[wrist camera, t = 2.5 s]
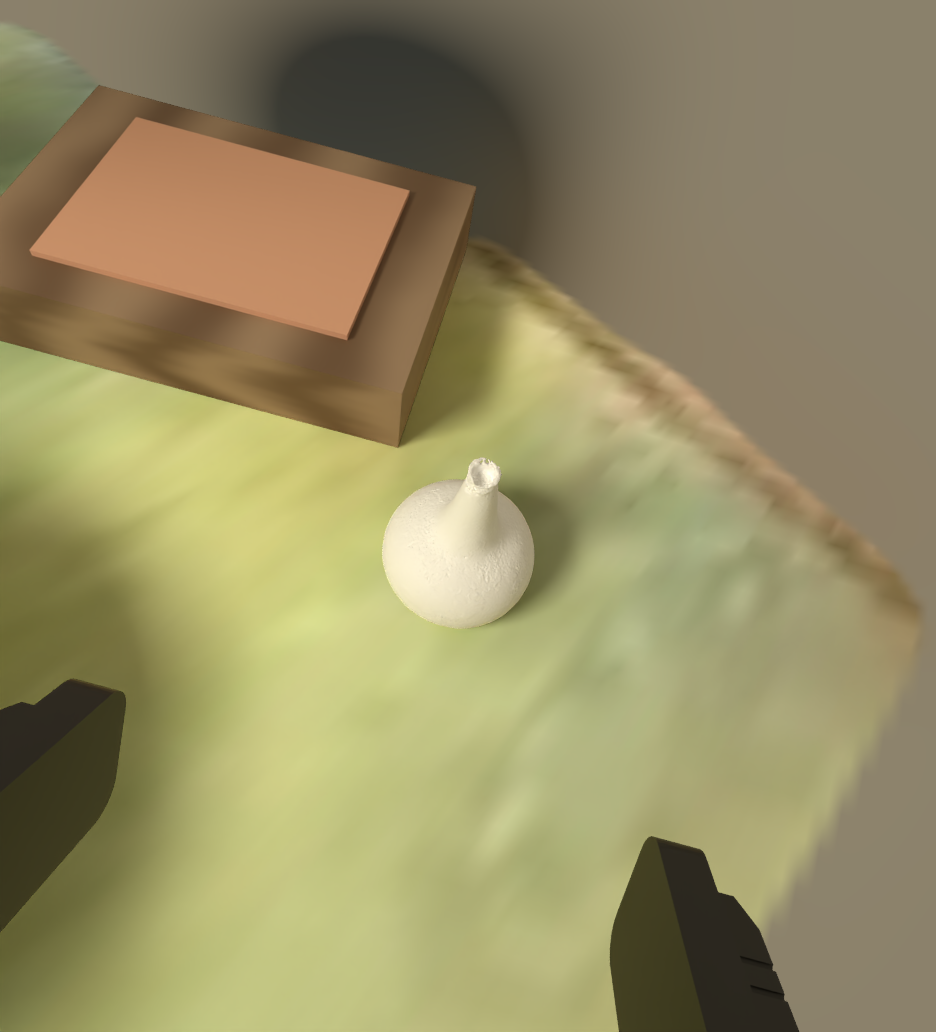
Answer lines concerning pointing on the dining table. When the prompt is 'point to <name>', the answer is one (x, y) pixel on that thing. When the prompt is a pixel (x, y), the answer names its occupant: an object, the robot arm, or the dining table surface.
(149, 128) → the mat
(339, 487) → the dining table surface
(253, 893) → the dining table surface
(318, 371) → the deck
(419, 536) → the garlic bulb
